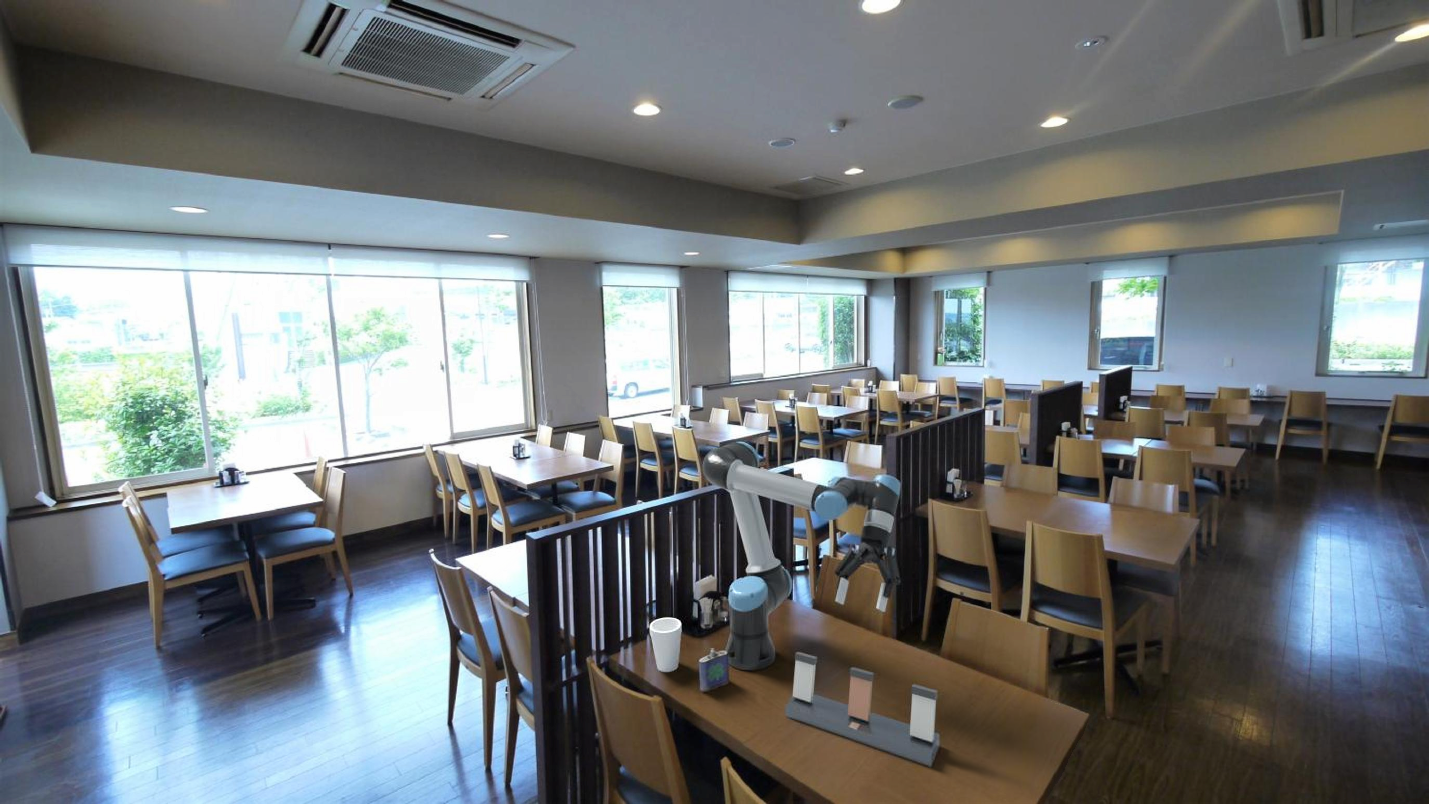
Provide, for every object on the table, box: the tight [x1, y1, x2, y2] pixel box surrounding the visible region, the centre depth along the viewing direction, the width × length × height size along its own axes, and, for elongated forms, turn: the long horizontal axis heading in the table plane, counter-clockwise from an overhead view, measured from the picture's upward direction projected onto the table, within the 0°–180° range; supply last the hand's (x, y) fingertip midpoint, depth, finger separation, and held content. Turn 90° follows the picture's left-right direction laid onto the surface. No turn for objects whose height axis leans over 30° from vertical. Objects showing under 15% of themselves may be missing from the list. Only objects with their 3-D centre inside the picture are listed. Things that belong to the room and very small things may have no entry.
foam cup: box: [649, 617, 683, 673], centre depth 176 cm, size 10×9×13 cm
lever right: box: [909, 683, 938, 742], centre depth 137 cm, size 2×5×11 cm, turn 57°
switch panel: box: [784, 693, 940, 768], centre depth 144 cm, size 8×36×3 cm, turn 57°
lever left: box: [792, 651, 818, 702], centre depth 153 cm, size 2×5×11 cm, turn 57°
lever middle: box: [848, 666, 875, 721], centre depth 145 cm, size 2×5×11 cm, turn 57°
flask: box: [698, 647, 730, 693], centre depth 165 cm, size 9×3×11 cm, turn 121°
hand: (859, 606), depth 154 cm, fingers open, 13 cm apart
